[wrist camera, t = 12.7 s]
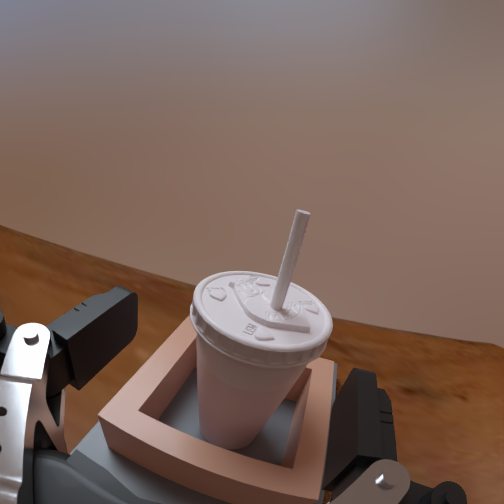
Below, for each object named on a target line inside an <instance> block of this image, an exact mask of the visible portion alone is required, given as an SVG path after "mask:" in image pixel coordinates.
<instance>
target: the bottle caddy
mask: <svg viewBox="0 0 504 504" xmlns="http://www.w3.org/2000/svg"><path fill="white" fill-rule="evenodd" d="M196 340H197V332H196V331H195V329H194V327H193V324H192V322H191V319H190V315H189V316H188V317H187V318H186V319H185V320H184V321H183V322H182V324H181V325H180V326H179V327H178V328H177V329H176V330H175V331H174V332H173V333H172V334H171V335H170V337H169V338H168V339H167V340H166V341H165V342H164V343H163V344H162V345H161V346H160V347H159V348H158V350H157V351H156V352H155V353H154V354H153V355H152V356H151V357H150V358H149V359H148V360H147V362H146V363H145V364H144V365H143V366H142V367H141V368H140V369H139V370H138V371H137V372H136V373H135V375H134V376H133V377H132V378H131V379H130V380H129V381H128V382H127V383H126V384H125V385H124V386H123V388H122V389H121V390H120V391H119V392H118V393H117V394H116V395H115V396H114V397H113V398H112V400H111V401H110V402H109V403H108V404H107V405H106V406H105V407H104V408H103V409H102V410H101V412H100V413H99V414H98V418H99V422H98V423H97V424H96V425H95V426H94V427H93V429H92V430H91V431H90V432H89V433H88V434H87V435H86V436H85V437H84V439H83V440H82V441H81V442H80V443H79V444H78V445H77V446H76V448H75V449H74V450H73V451H72V452H71V453H70V455H72V453H73V452H74V451H75V450H76V449H77V450H78V451H80V452H81V453H83V454H84V455H86V456H87V457H88V458H90V459H91V460H93V461H94V462H96V463H97V464H99V465H101V466H102V467H104V468H105V469H107V470H108V471H109V472H110V473H111V474H112V475H113V476H114V477H115V478H116V479H117V480H118V481H120V482H121V483H122V484H123V485H124V486H125V487H126V488H127V489H129V490H130V491H131V492H132V493H133V494H134V495H136V496H137V497H139V498H142V499H145V500H149V501H153V502H157V503H161V504H323V499H324V493H325V490H322V484H323V477H324V470H325V463H326V455H327V447H328V438H329V429H330V418H331V410H332V406H333V403H334V401H335V394H336V377H337V363H334V361H330V360H327V359H323V358H320V357H318V358H317V359H315V360H313V361H311V362H310V363H308V364H307V366H306V367H305V369H304V371H303V372H302V374H301V375H300V377H299V378H298V379H297V381H296V382H295V384H294V385H293V387H292V388H291V390H290V391H289V392H288V394H287V395H286V397H285V398H284V400H283V401H282V402H281V404H280V405H279V406H278V408H277V409H276V411H275V412H274V413H273V415H272V416H271V417H270V419H269V420H268V421H267V423H266V424H265V425H264V427H263V428H262V429H261V431H260V432H259V433H258V434H257V436H256V437H255V438H254V440H253V441H252V442H251V443H250V444H249V445H247V446H245V447H243V448H240V449H234V450H229V449H223V448H221V447H218V446H215V445H213V444H211V443H210V442H208V441H207V440H206V439H205V438H204V437H203V435H202V434H201V431H200V428H199V415H198V388H197V348H196Z"/></svg>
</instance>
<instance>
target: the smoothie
mask: <svg viewBox="0 0 504 504" xmlns="http://www.w3.org/2000/svg"><path fill="white" fill-rule="evenodd" d="M309 218H310V213H309V212H306V211H303V210H296V214H295V217H294V221H293V225H292V228H291V232H290V236H289V240H288V243H287V246H286V250H285V254H284V257H283V261H282V265H281V268H280V271H279V275H278V277H275V276H271V275H267V274H263V273H256V272H248V271H229V272H222V273H218V274H215V275H212V276H209V277H207V278H206V279H204V280H202V281H201V282H200V283H199V284H198V285H197V287H196V288H195V291H194V296H193V302H192V304H191V306H190V319H191V322H192V324H193V327H194V329H195V331H196V332H197V340H196V348H197V388H198V415H199V428H200V431H201V434H202V435H203V437H204V438H205V439H206V440H207V441H208V442H210V443H211V444H213V445H215V446H218V447H221V448H223V449H229V450H234V449H240V448H243V447H245V446H247V445H249V444H250V443H251V442H252V441H253V440H254V438H255V437H256V436H257V434H258V433H259V432H260V431H261V429H262V428H263V427H264V425H265V424H266V423H267V421H268V420H269V419H270V417H271V416H272V415H273V413H274V412H275V411H276V409H277V408H278V406H279V405H280V404H281V402H282V401H283V400H284V398H285V397H286V395H287V394H288V392H289V391H290V390H291V388H292V387H293V385H294V384H295V382H296V381H297V379H298V378H299V377H300V375H301V374H302V372H303V371H304V369H305V367H306V366H307V364H308V363H310V362H311V361H313V360H315V359H317V358H318V357H319V356H320V355H321V354H322V352H323V351H324V350H325V348H326V344H327V340H328V338H329V336H330V334H331V331H332V327H333V323H332V318H331V315H330V313H329V312H328V310H327V308H326V307H325V306H324V305H323V303H322V302H321V301H320V300H319V299H318V298H316V297H315V296H314V295H313V294H311V293H310V292H308V291H307V290H305V289H303V288H302V287H300V286H298V285H296V284H294V283H291V278H292V275H293V272H294V269H295V265H296V262H297V259H298V255H299V252H300V249H301V245H302V242H303V239H304V235H305V232H306V228H307V225H308V221H309Z"/></svg>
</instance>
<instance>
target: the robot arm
mask: <svg viewBox="0 0 504 504" xmlns="http://www.w3.org/2000/svg"><path fill="white" fill-rule="evenodd" d="M137 326H138V297H137V294H136V293H134V292H132V291H130V290H128V289H125V288H123V287H121V286H117V287H115V288H113V289H112V290H110V291H109V292H107V293H106V294H105V293H102V294H98V295H95V296H91V297H90V298H88V299H87V300H85V301H84V302H82V304H79V305H77V306H76V307H74V309H71V310H70V311H68V312H67V313H65V314H64V315H62V316H60V317H59V318H57V319H56V320H54V321H53V322H51V323H50V324H48V325H47V326H43V325H41V324H38V323H28V324H25V325H22V326H20V327H19V328H17V327H14V326H12V325H9V324H6V323H5V320H4V316H3V313H2V311H1V310H0V504H161V503H157V502H153V501H149V500H145V499H142V498H139V497H137V496H136V495H134V494H133V493H132V492H131V491H130V490H129V489H127V488H126V487H125V486H124V485H123V484H122V483H121V482H120V481H118V480H117V479H116V478H115V477H114V476H113V475H112V474H111V473H110V472H109V471H108V470H107V469H105V468H104V467H102V466H101V465H99V464H97V463H96V462H94V461H93V460H91V459H90V458H88V457H87V456H86V455H84V454H83V453H81V452H80V451H78V450H77V449H76V450H75V451H74V452H73V453H72V455H70V454H68V453H67V447H66V443H65V439H64V407H65V387H66V386H67V385H68V384H70V385H72V386H73V387H75V388H76V389H77V390H80V389H81V388H82V387H83V386H85V385H86V384H87V383H88V382H89V381H90V380H91V379H92V378H93V377H94V376H95V375H96V374H97V373H98V372H99V371H100V370H101V369H102V368H103V367H104V366H106V365H107V364H108V363H109V362H110V361H111V360H112V359H113V358H114V357H115V356H116V355H117V354H118V353H119V352H120V351H121V350H123V349H124V348H125V347H126V346H127V345H128V344H129V343H130V342H131V341H132V340H133V338H134V337H135V335H136V332H137ZM393 423H394V422H393V415H392V406H391V400H390V399H389V397H388V395H387V393H386V392H385V390H384V389H380V388H377V380H376V374H375V372H371V371H367V370H363V369H358V368H353V369H352V371H351V372H350V374H349V376H348V378H347V379H346V381H345V383H344V385H343V386H342V388H341V390H340V392H339V393H338V395H337V397H336V399H335V401H334V403H333V406H332V410H331V418H330V429H329V438H328V447H327V455H326V463H325V470H324V477H323V484H322V490H326V491H332V498H331V500H330V501H329V502H328V503H326V504H467V498H466V494H465V492H464V490H463V489H462V487H461V486H460V485H458V484H457V483H455V482H451V481H445V482H442V483H440V484H439V485H437V486H436V487H435V488H429V487H426V486H423V485H421V484H418V483H415V482H413V481H411V480H410V476H409V474H408V472H407V470H406V469H405V468H404V466H402V465H401V464H400V463H398V462H397V452H396V441H395V431H394V425H393Z"/></svg>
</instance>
